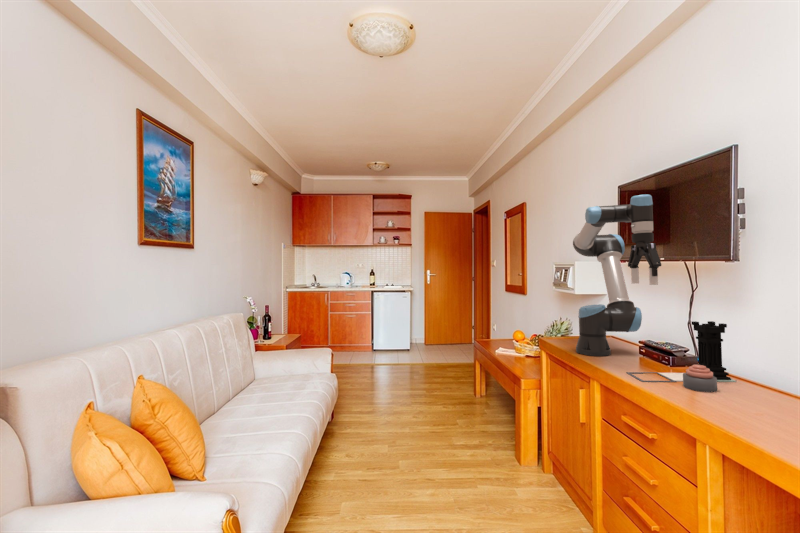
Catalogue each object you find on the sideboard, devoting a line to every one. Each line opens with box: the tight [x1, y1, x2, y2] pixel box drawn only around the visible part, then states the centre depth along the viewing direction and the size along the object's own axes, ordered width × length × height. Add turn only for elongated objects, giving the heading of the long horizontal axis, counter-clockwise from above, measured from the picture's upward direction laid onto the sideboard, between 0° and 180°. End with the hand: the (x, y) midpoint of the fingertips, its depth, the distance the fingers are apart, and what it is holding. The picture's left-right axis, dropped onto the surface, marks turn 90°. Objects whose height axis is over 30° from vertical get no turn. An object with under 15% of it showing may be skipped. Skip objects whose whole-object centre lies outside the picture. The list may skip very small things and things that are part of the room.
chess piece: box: [691, 320, 732, 380], centre depth 136 cm, size 8×8×20 cm
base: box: [682, 372, 718, 393], centre depth 125 cm, size 9×9×4 cm
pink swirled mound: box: [685, 364, 713, 378], centre depth 125 cm, size 7×7×3 cm
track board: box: [625, 371, 737, 383], centre depth 137 cm, size 12×32×1 cm, turn 83°
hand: (644, 284), depth 150 cm, fingers open, 13 cm apart
